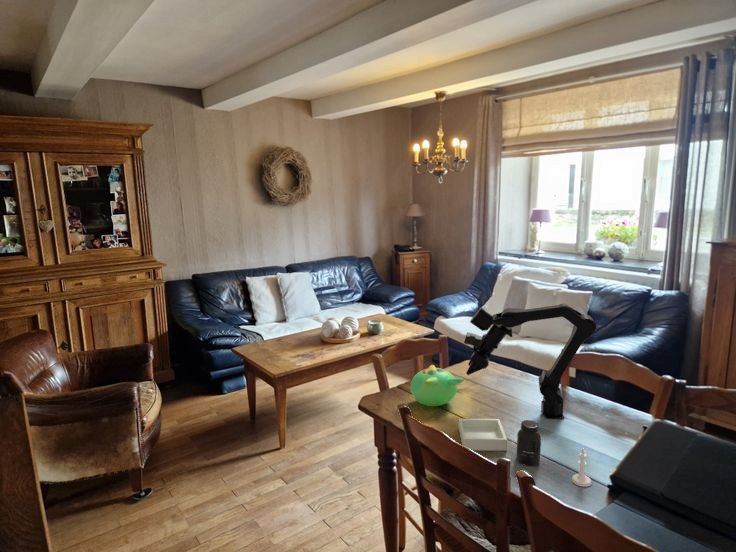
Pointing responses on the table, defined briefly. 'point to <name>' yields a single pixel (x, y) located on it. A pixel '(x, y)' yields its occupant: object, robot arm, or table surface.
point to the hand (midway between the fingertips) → (468, 369)
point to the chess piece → (582, 472)
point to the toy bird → (434, 386)
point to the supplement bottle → (528, 443)
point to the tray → (482, 434)
